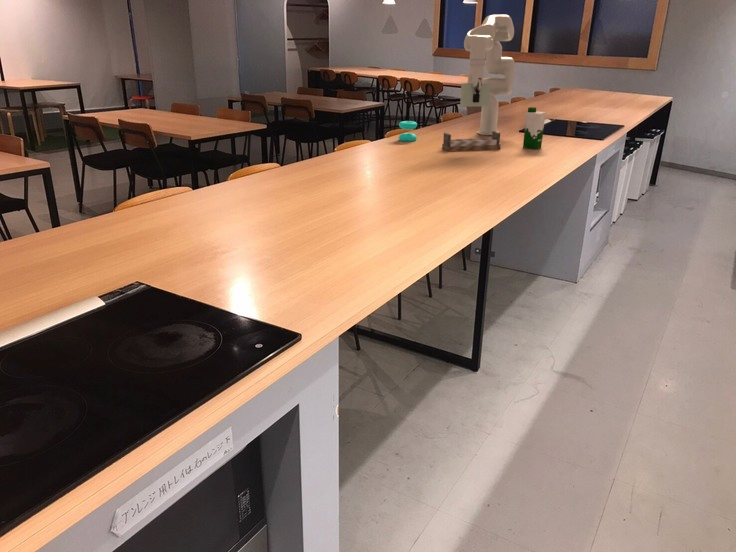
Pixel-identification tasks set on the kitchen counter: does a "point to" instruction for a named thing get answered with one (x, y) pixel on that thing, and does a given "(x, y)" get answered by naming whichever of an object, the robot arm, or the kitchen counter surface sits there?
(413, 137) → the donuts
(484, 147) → the track base
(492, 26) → the robot arm
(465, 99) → the door panel
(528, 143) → the milk carton
